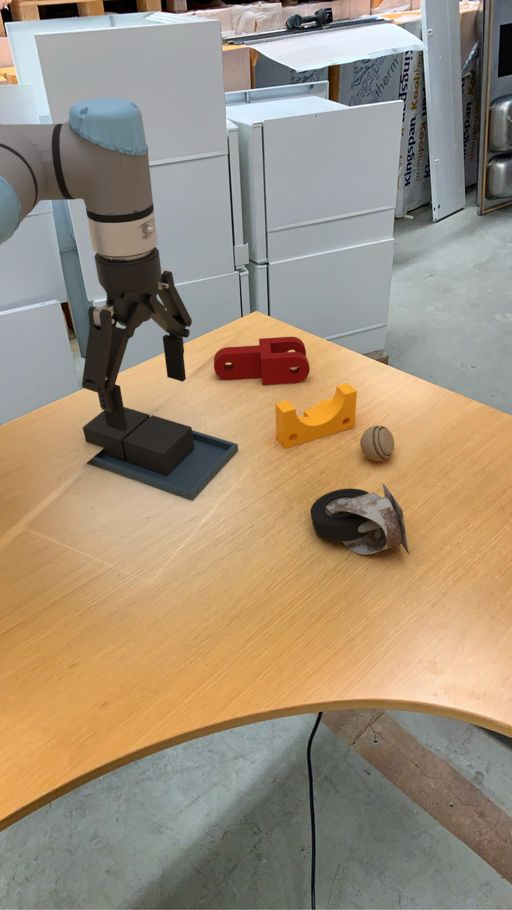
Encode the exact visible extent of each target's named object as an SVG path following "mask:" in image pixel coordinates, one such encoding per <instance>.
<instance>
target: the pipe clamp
mask: <svg viewBox="0 0 512 910" xmlns="http://www.w3.org/2000/svg"><path fill="white" fill-rule="evenodd" d="M357 394H358V391H357V390H356V389H355V388H354V386H352V385H351V384H350V383H348V382H346V383H342V384H339V385H336V388H335V392H334V396H333V397H331V398H327V399H324V400H321V401H319V402H318V403H317V404H316V405H314V406H313V407H311V408H308V409H305V410H303V416H300V415H297V410H296V407H294V405H292V403H290V401H289V400H283V401H279V402H276V403H274V404H275V405H274V406H275V439H276V441H277V442H278V444H279V445H280V446H281V447H282V449H284V450H285V449H289V448H292V447H295V446H299V445H301V444H304V443H309V442H311V441H314V440H317V439H321V438H324V437H327V436H331V435H333V434H336V433H337V434H338V433H340V432H343V431H347V430H349V429H353V428H355V426H356V414H357V413H356V410H357V397H358V395H357Z"/></svg>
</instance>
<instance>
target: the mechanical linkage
mask: <svg viewBox="0 0 512 910" xmlns="http://www.w3.org/2000/svg"><path fill="white" fill-rule="evenodd" d="M305 345H306V344H305V343H304V342H303V340H302V339H300V338H298V337H296V336H277V337H261V338H258V344H257V345H241V346H226V347H222V348H220V349H218V350H217V351H216V353H215V355H214V357H213V369H214V370H213V371H214V373H215V375H216V376H217V377H218V378H220V379H221V380H225V381H233V380H236V381H237V380H249V379H250V380H251V379H252V380H253V379H261V385H262V386H273V385H287V384H288V385H289V384H299V383H301V382H304V381H305V380H306V379H307V378H308V376H309V374H310V371H311V370H310V369H311V367H310V364H309V360H308V358H307V350H306V347H305ZM228 363H230V364H228ZM295 367H297V368H295ZM292 368H295V369H292Z"/></svg>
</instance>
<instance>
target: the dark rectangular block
mask: <svg viewBox="0 0 512 910" xmlns="http://www.w3.org/2000/svg"><path fill="white" fill-rule="evenodd" d="M192 430H193V428H192V426H190V425H186V424H183V423H179V422H176V421H174V420H171V419H168V418H167V419H166V418H163V417H160V416H156V415H153V414H152V415H150V418H148V419H147V420H146V421H145V422H144V423H143V424H141V425H140V426H139V427H138V428H137V429H136V430H135V431H133V432H132V433H131V434H130V435H129V436H128V437H127V438H125V439H124V440H123V443H124V448H125V453H126V458H127V462H128V463H130V464H133V465H136V466H139V467H142V468H145V469H147V470H150V471H153V472H156V473H159V474H162V475H165V476H168V475H169V474H170V473H171V472H172V471H173V470H174V469H175V468H176V467H177V466H178V465H179V464H180V463H181V462H182V461H183V460H184V459H185V458H186V457H187V456H188V455H189V454H190V453H191V452H192V451H193V450H194V442H193V434H192Z"/></svg>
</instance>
